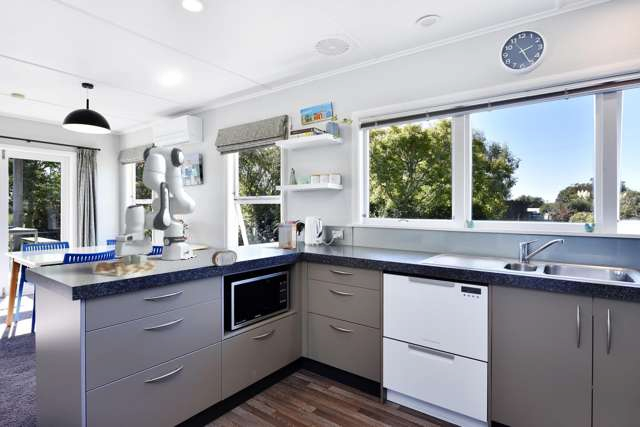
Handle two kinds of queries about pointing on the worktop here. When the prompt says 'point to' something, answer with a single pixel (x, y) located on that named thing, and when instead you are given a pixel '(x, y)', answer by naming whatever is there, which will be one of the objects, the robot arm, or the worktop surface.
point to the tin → (224, 258)
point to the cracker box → (287, 235)
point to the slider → (134, 259)
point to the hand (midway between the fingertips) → (134, 263)
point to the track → (121, 268)
